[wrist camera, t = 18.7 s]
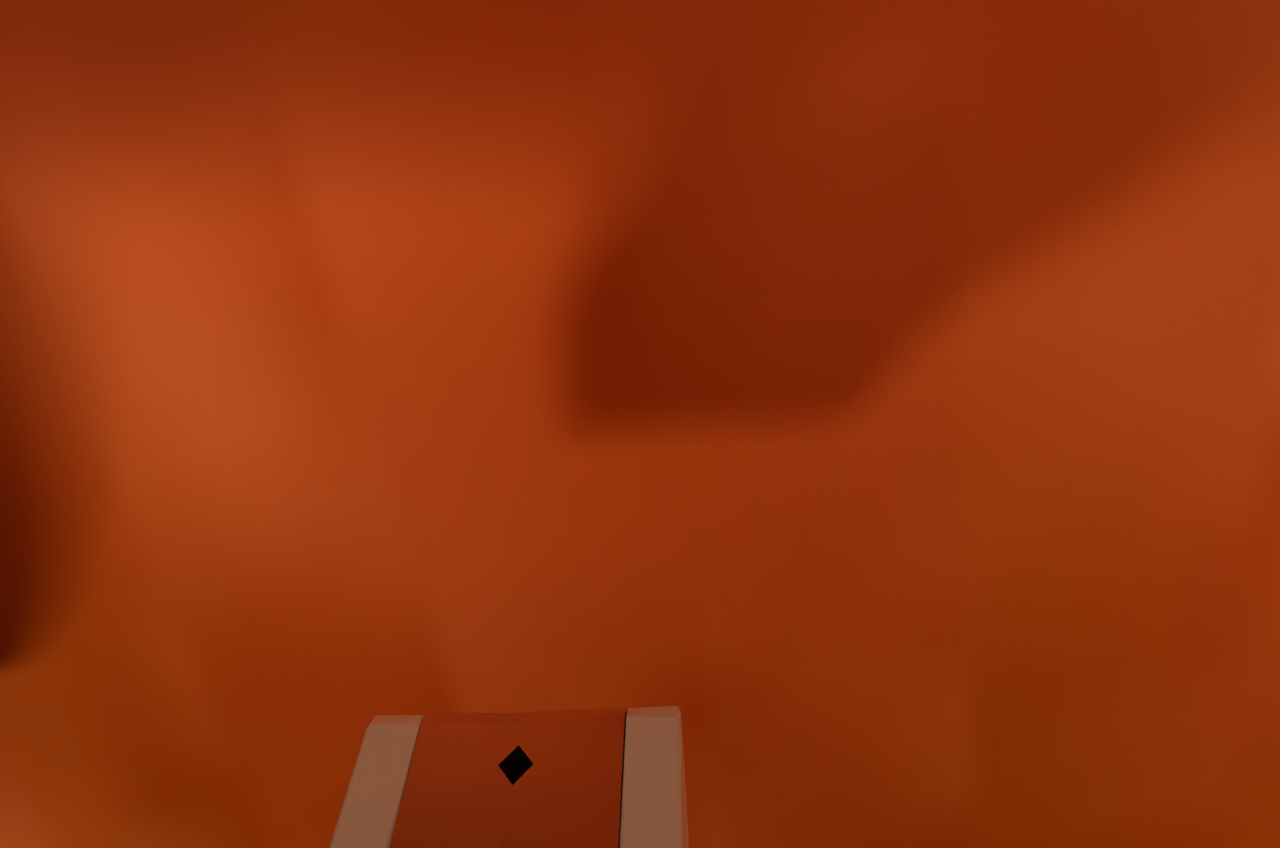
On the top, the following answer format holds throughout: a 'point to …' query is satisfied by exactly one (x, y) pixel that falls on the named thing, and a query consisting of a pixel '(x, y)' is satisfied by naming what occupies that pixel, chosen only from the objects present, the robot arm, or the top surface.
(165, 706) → the top surface
